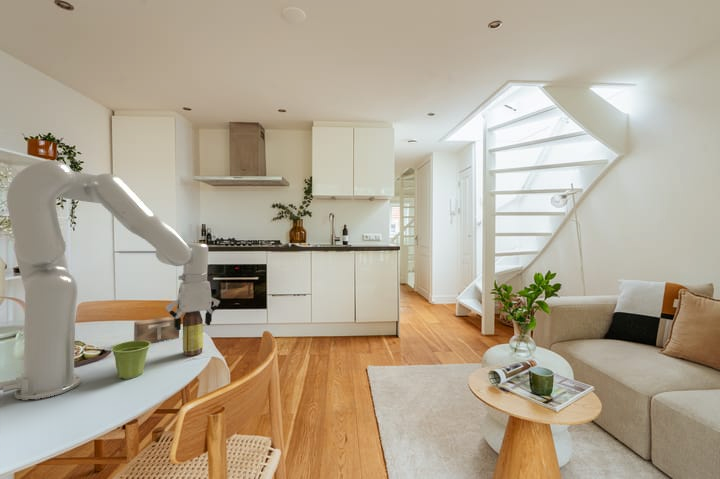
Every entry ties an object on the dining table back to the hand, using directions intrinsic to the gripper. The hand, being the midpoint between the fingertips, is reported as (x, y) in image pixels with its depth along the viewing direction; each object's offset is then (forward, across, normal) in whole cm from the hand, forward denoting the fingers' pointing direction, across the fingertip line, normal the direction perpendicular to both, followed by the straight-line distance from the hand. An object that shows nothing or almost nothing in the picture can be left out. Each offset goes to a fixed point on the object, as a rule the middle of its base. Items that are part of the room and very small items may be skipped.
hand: (193, 326), depth 110 cm
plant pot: (+10, -19, -6) cm, 22 cm away
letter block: (+10, -6, +22) cm, 25 cm away
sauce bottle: (+10, 0, 0) cm, 10 cm away
